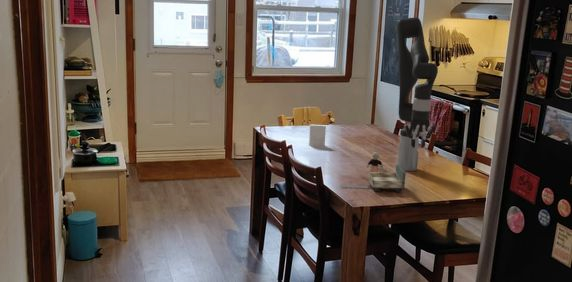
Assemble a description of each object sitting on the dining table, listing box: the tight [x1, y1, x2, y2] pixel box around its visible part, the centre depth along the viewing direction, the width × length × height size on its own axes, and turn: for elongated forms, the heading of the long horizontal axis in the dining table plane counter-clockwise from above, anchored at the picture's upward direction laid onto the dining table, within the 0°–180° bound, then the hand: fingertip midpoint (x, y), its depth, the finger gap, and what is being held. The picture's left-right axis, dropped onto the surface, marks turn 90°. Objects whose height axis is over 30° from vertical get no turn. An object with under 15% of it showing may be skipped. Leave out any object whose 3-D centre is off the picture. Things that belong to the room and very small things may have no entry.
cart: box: [366, 164, 407, 193], centre depth 261 cm, size 14×13×9 cm
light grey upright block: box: [308, 123, 327, 149], centre depth 335 cm, size 9×9×12 cm
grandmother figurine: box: [366, 151, 384, 173], centre depth 276 cm, size 8×4×13 cm, turn 105°
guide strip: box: [339, 184, 394, 190], centre depth 262 cm, size 26×3×1 cm, turn 93°
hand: (417, 147), depth 259 cm, fingers open, 3 cm apart
